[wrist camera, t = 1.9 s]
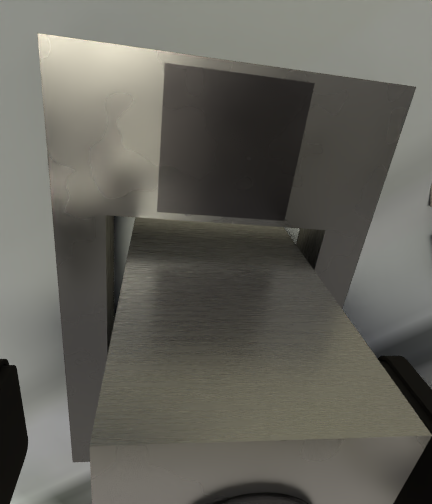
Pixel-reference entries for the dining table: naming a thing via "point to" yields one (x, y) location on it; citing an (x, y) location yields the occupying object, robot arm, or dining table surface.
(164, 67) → the grey metal plate
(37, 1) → the dining table surface
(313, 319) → the metal cube with knob
